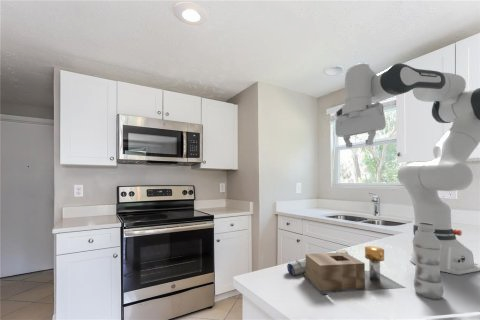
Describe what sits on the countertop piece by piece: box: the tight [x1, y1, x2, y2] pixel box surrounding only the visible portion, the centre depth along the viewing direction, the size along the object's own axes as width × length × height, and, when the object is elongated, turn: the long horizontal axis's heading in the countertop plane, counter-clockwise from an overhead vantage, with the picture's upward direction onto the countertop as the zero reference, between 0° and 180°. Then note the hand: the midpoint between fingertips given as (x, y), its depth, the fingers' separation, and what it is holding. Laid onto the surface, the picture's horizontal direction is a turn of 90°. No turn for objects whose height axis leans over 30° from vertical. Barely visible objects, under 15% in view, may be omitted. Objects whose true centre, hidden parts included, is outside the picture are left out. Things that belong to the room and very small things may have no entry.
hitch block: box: [303, 252, 406, 296], centre depth 77 cm, size 26×13×8 cm, turn 99°
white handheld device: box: [286, 249, 349, 277], centre depth 87 cm, size 5×7×25 cm
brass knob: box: [364, 245, 385, 281], centre depth 79 cm, size 5×5×10 cm
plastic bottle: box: [411, 223, 444, 301], centre depth 69 cm, size 6×7×20 cm
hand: (358, 146), depth 90 cm, fingers open, 8 cm apart
